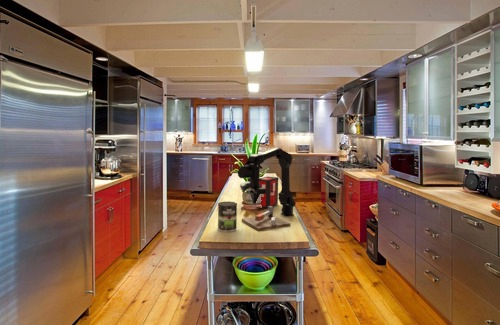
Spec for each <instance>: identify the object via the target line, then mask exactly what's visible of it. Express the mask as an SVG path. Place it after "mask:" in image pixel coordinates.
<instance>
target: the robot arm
mask: <svg viewBox="0 0 500 325" xmlns="http://www.w3.org/2000/svg"><path fill="white" fill-rule="evenodd" d="M273 157H275V158H277V159H278V160H277V162H278V164H279V166H280V168H281V170H280V172H281V174H280V175H281V190H280V192H278V202H279V204H280V206H282V207H281V213H280V215H282V216H284V217H291V216H292V217H293V216H295V214H294V207H296V204H297V203H296V201H295V200H294V199H293V193H292V191H291V189H290V168H291V165H292V164H293V163H292V162H293V156H292V154H291V153H289V152H287V151H285V150H284V149H282V148H281V147H273V148H271V149H269V150H267V151H264V152H262V153H253V154H249V156H248V158H247V160H246V162H245V164H244V165H240V166H239V169H238V170H237V176H238V177H239V179H246V178H247V181H244V182H242V183H240V184H239V187H240V190H241V191H243V192H245V191H246V192H247V193H248V194H249V195H250V198H251V202H252V204H253V205H256V201H257V199H258V197H259V196H260V194H267V190H266V189H265V188H261V186H259V182H260V181H261V179H260V178H261V175H260V174H261V173H260V172H261V170H262V169H263V166H261V165H262V164H263V163H264V162H265V161H266V160H268V159H271V158H273Z"/></svg>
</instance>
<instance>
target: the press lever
mask: <svg viewBox="0 0 500 325" xmlns="http://www.w3.org/2000/svg"><path fill="white" fill-rule="evenodd" d="M273 215H274V207H273V206H268V209H267V210H266V211H264V212H262V213H258V214H257V215H255V216H254V217H255V221H261V220H263V219H264V217H266V216H268V217H273Z"/></svg>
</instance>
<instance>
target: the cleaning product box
mask: <svg viewBox="0 0 500 325" xmlns="http://www.w3.org/2000/svg"><path fill="white" fill-rule="evenodd" d="M260 179H261V181H260V182H259V186H261V188H265V189H266V190H267V194H262V195H261V200H262V201H261V205H262V209H263V210H268V206H273V208H274V207H276V206H278V205H279V199H278V198H279V195H278V193H279V177H278V176H277V177H276V176H264V177H260ZM262 209H261V210H262Z"/></svg>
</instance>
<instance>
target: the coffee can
mask: <svg viewBox="0 0 500 325" xmlns="http://www.w3.org/2000/svg"><path fill="white" fill-rule="evenodd" d="M217 206H218V208H217V210H218V211H217V215H218V216H217V230H218V231H220V232H224V233H229V232H234V231H236V230H237V220H238V219H237V218H238V217H237V216H238V215H237V214H238V212H237V211H238V203H237V202H235V201H221V202H217Z"/></svg>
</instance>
